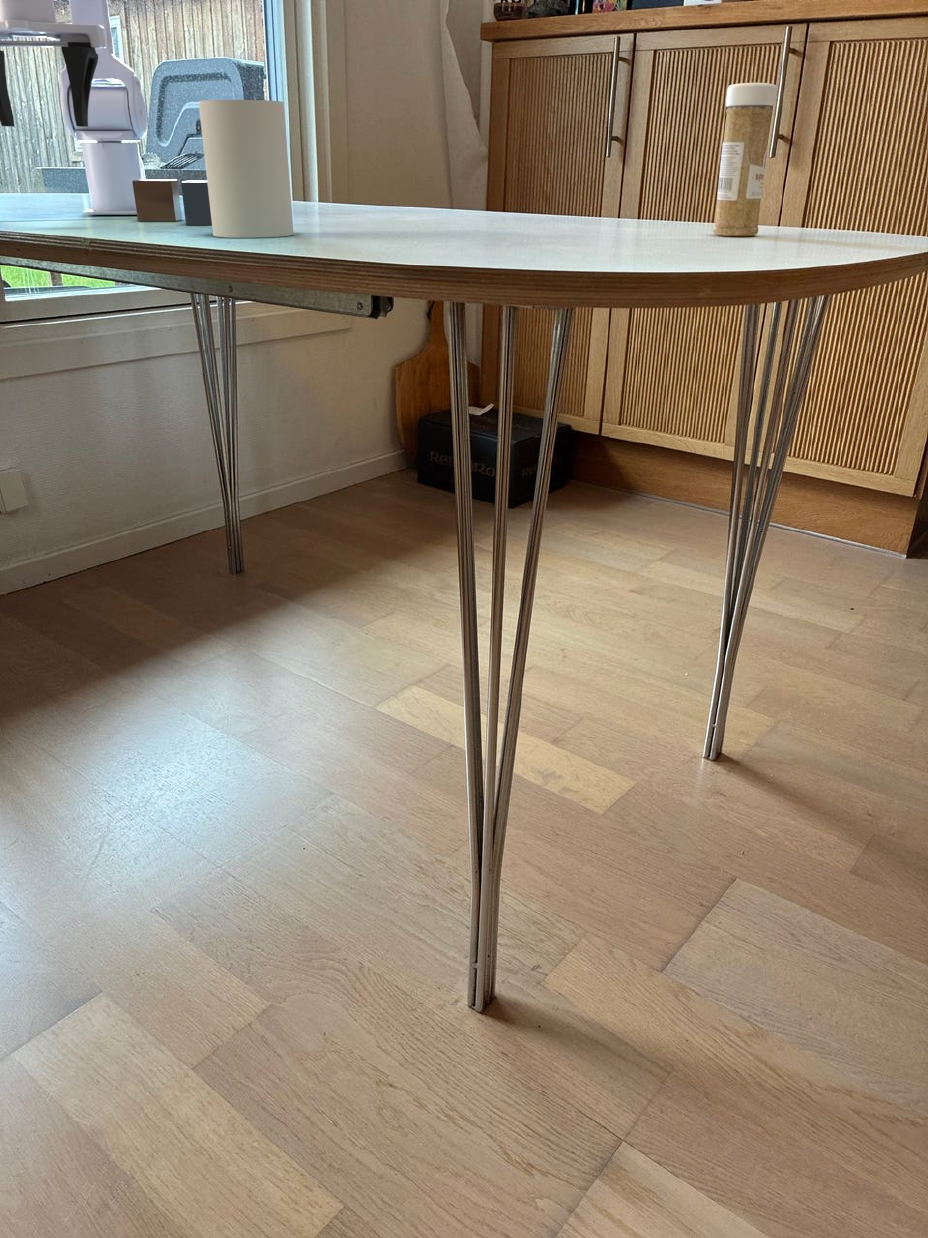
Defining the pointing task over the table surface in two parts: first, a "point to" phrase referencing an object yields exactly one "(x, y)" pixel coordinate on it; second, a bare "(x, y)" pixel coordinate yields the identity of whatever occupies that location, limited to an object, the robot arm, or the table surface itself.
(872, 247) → the table surface
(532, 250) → the table surface
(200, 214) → the slate block
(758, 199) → the spice jar
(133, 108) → the robot arm
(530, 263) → the table surface
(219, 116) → the cup
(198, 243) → the table surface
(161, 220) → the walnut block
